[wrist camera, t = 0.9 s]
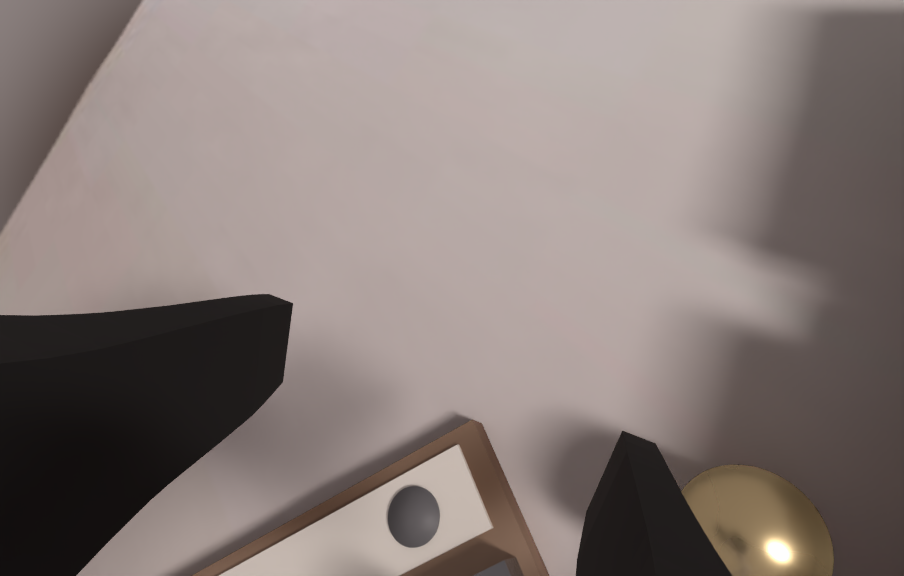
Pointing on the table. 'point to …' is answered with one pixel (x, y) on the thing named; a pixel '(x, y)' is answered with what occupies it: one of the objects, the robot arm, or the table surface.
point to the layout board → (406, 522)
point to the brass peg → (760, 523)
